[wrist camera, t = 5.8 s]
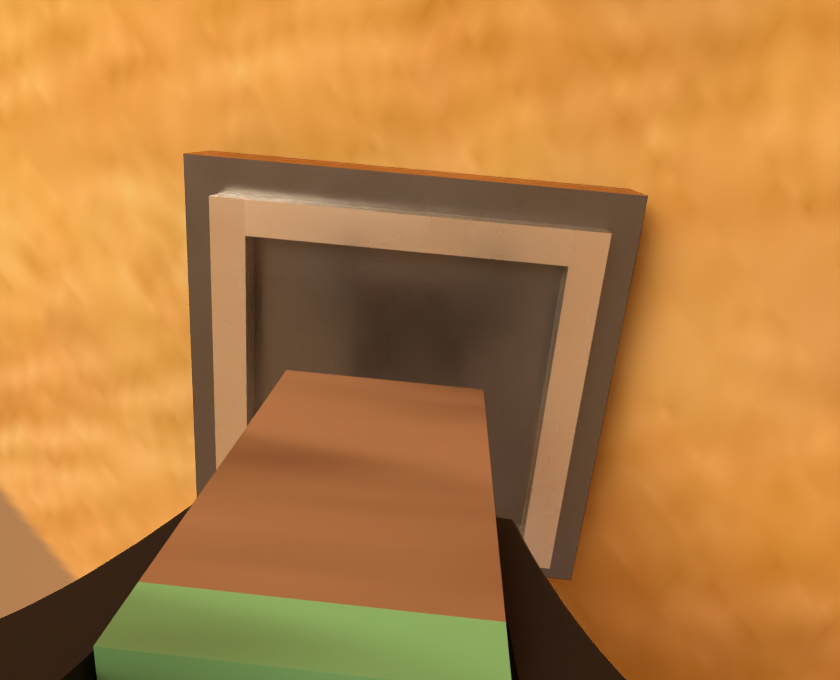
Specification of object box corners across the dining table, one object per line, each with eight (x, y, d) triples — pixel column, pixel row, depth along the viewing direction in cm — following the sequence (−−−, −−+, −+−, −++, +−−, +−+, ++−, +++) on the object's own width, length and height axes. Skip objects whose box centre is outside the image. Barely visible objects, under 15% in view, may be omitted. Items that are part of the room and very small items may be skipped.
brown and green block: (462, 554, 16) (466, 956, 8) (284, 534, 16) (123, 914, 8) (483, 389, 14) (512, 693, 7) (286, 369, 14) (93, 646, 7)
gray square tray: (561, 543, 23) (575, 596, 21) (219, 506, 24) (189, 554, 21) (629, 189, 19) (656, 199, 16) (209, 150, 19) (170, 154, 17)
